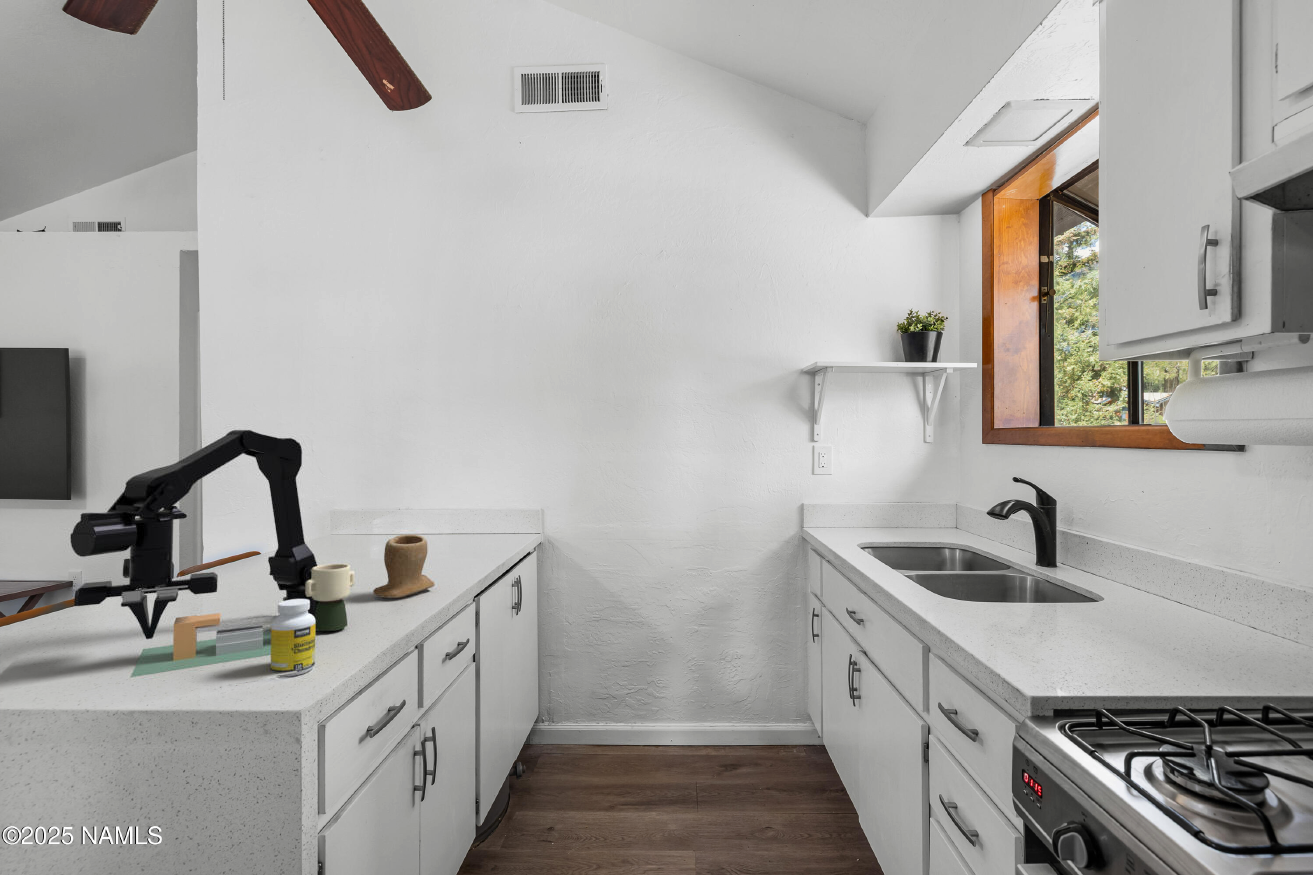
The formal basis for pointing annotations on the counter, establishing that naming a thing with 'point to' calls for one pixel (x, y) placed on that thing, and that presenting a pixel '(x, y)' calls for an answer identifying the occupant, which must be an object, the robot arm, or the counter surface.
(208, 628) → the flat grey bar
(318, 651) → the counter surface
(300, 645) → the pill bottle
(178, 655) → the orange stepped block
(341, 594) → the character mug
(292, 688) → the counter surface
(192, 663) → the heatsink board
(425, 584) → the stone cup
